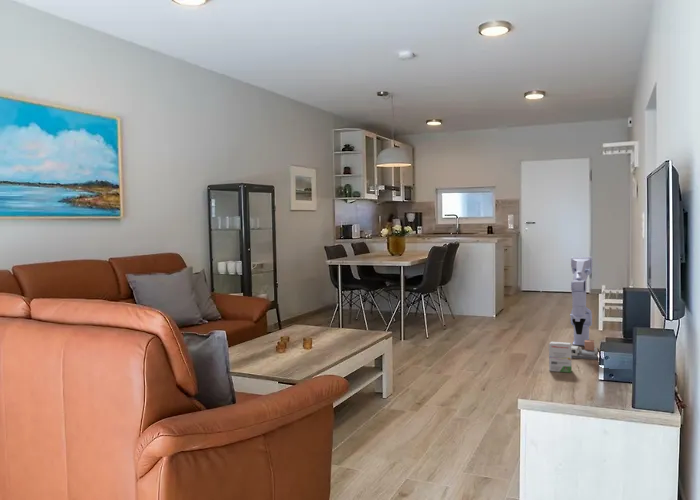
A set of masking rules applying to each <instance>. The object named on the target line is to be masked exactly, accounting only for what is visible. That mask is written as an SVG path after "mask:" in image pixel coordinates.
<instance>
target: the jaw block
mask: <svg viewBox="0 0 700 500" xmlns="http://www.w3.org/2000/svg"><path fill="white" fill-rule="evenodd" d="M594 348H595V340H593V339H589V340H585V346H584V350H594Z"/></svg>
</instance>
